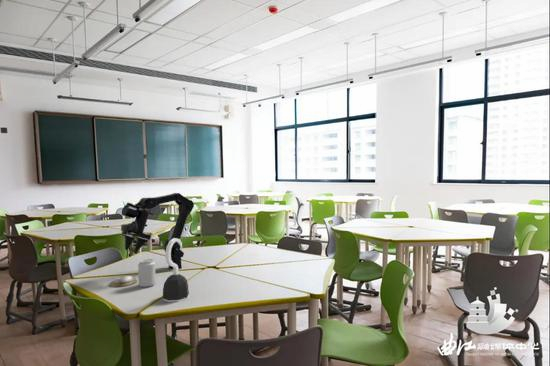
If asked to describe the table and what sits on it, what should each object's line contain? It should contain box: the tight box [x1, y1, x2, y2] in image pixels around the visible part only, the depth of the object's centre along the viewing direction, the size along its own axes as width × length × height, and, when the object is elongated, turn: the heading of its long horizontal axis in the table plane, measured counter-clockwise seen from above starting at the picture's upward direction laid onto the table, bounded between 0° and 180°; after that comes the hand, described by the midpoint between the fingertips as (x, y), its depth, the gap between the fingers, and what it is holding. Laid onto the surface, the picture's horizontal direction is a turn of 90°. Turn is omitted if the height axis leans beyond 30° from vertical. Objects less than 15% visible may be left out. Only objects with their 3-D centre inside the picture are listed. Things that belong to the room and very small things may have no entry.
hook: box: [162, 238, 190, 303], centre depth 148 cm, size 11×11×25 cm
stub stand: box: [109, 275, 138, 288], centre depth 169 cm, size 12×12×2 cm
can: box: [137, 258, 157, 288], centre depth 165 cm, size 8×8×12 cm
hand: (130, 250), depth 177 cm, fingers open, 9 cm apart
